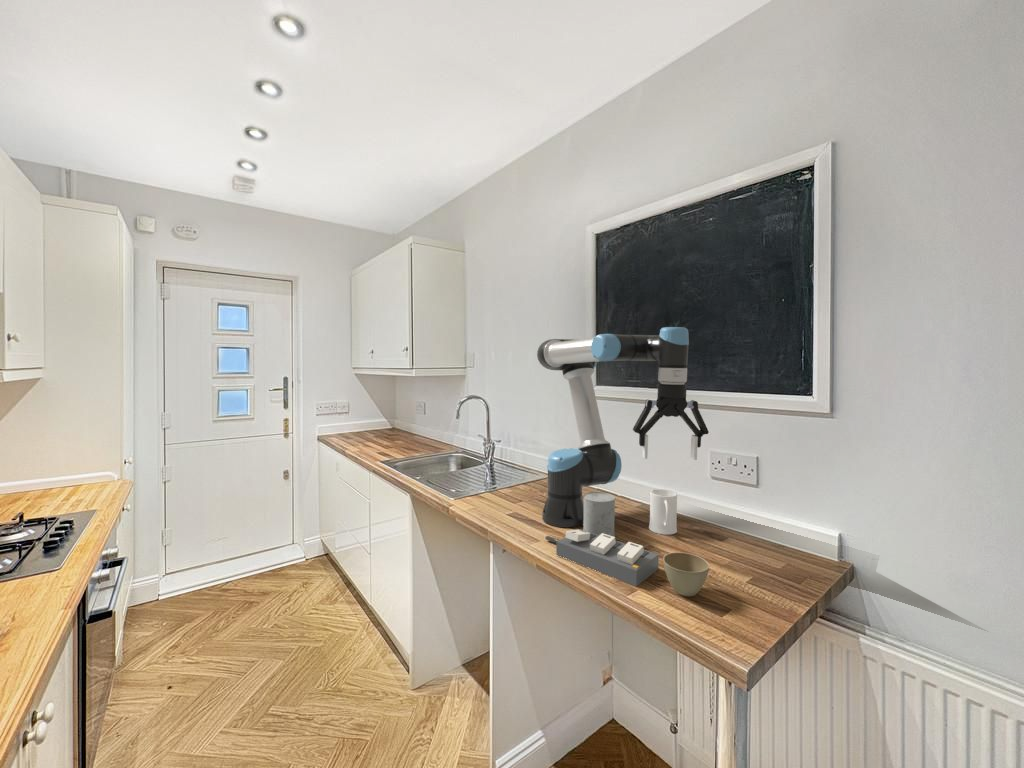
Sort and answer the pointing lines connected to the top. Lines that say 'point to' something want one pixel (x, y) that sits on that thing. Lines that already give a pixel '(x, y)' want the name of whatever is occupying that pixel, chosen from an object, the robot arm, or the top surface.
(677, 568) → the flower pot
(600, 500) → the grey concrete cylinder
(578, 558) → the power strip
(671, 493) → the mug
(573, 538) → the rocker
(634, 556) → the rocker
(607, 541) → the block
